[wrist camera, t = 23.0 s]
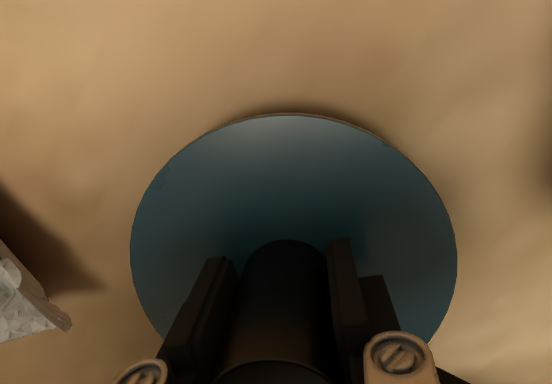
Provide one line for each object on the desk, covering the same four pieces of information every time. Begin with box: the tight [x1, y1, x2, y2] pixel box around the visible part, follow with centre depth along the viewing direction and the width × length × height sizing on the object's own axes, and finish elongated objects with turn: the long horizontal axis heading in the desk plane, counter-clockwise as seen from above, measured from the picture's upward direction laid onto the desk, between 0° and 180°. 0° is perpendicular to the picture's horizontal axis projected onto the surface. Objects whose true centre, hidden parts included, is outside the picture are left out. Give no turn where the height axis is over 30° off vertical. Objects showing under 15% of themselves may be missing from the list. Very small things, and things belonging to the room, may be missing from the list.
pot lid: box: [130, 112, 457, 384], centre depth 10 cm, size 11×11×6 cm
